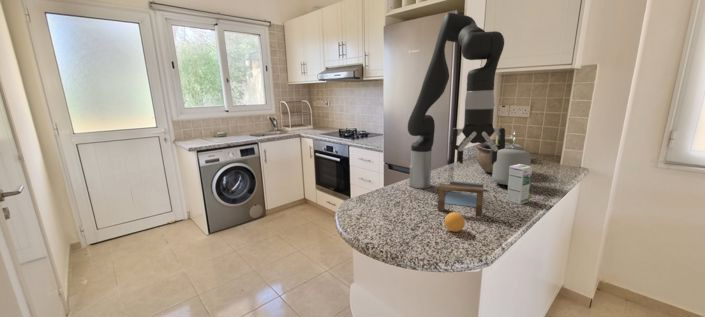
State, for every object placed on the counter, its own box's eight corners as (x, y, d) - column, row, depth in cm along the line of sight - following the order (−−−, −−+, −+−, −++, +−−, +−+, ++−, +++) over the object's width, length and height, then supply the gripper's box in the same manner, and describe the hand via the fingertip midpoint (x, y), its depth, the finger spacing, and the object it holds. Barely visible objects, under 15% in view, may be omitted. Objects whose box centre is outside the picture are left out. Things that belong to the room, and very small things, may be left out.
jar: (494, 177, 148) (498, 128, 143) (528, 181, 141) (533, 129, 135) (489, 188, 132) (494, 133, 127) (527, 193, 125) (533, 135, 120)
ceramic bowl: (522, 170, 160) (524, 143, 157) (519, 180, 142) (522, 150, 139) (478, 166, 172) (480, 140, 169) (471, 175, 154) (473, 147, 151)
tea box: (494, 156, 196) (495, 134, 193) (511, 157, 192) (513, 135, 189) (495, 161, 182) (497, 137, 179) (513, 162, 179) (515, 138, 175)
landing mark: (442, 203, 116) (442, 202, 116) (447, 192, 129) (447, 191, 129) (480, 208, 110) (480, 207, 110) (482, 196, 123) (482, 195, 123)
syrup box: (520, 204, 113) (524, 168, 109) (506, 200, 118) (509, 165, 115) (529, 202, 115) (533, 166, 112) (515, 197, 120) (518, 163, 117)
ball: (443, 233, 92) (443, 215, 90) (445, 225, 97) (446, 208, 96) (463, 236, 89) (464, 218, 88) (465, 228, 95) (466, 211, 93)
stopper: (449, 187, 136) (450, 181, 135) (450, 185, 137) (450, 180, 137) (482, 190, 130) (483, 185, 129) (483, 189, 132) (483, 183, 131)
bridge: (481, 216, 103) (483, 190, 101) (437, 210, 109) (438, 185, 107) (481, 213, 105) (483, 188, 103) (439, 207, 112) (440, 183, 110)
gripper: (503, 106, 85) (499, 161, 88) (451, 107, 88) (449, 160, 91) (510, 107, 77) (506, 166, 81) (454, 108, 81) (452, 165, 84)
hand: (476, 163), depth 86 cm, fingers open, 8 cm apart
